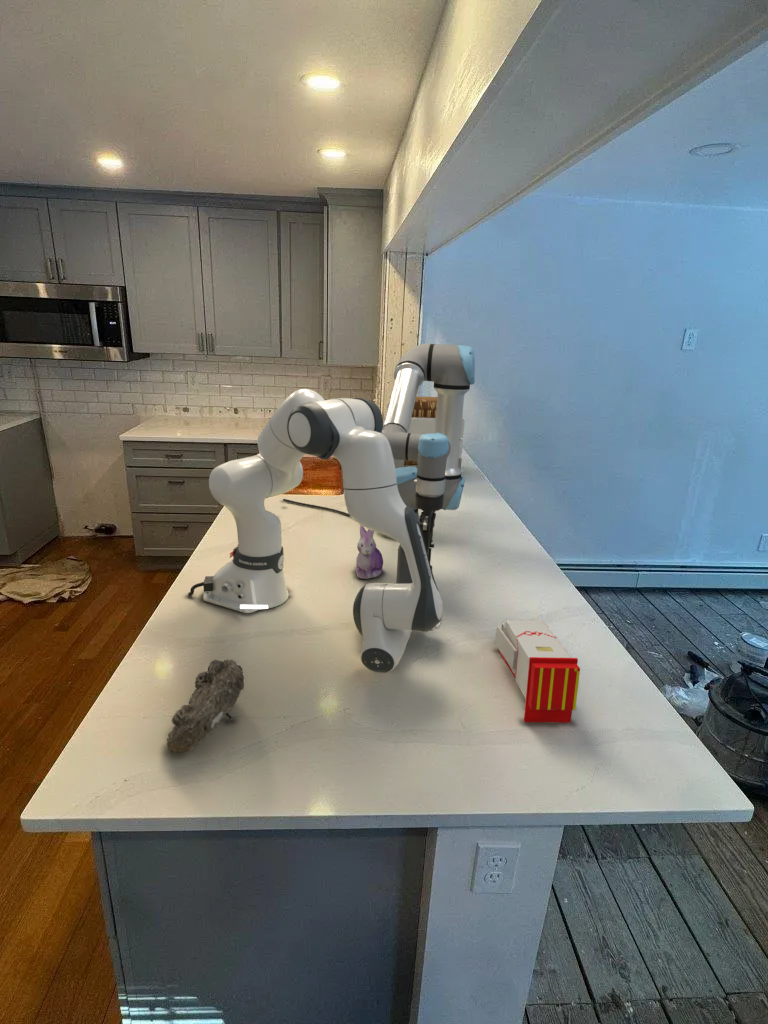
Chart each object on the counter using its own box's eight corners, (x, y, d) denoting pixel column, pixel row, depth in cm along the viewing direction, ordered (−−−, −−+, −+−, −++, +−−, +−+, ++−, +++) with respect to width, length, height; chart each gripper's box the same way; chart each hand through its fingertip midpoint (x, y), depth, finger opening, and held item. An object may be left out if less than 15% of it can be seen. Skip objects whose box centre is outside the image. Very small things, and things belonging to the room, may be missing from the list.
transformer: (382, 463, 289) (386, 382, 275) (445, 464, 293) (451, 384, 279) (390, 482, 257) (394, 392, 243) (460, 483, 261) (468, 394, 247)
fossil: (192, 660, 117) (244, 628, 112) (224, 691, 120) (276, 661, 115) (142, 746, 98) (202, 712, 93) (182, 779, 101) (242, 748, 96)
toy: (541, 605, 135) (589, 664, 106) (536, 657, 138) (581, 729, 108) (490, 604, 135) (524, 663, 105) (486, 656, 137) (518, 728, 108)
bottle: (418, 624, 143) (424, 532, 135) (398, 627, 141) (404, 534, 133) (409, 613, 148) (415, 524, 139) (390, 616, 146) (395, 526, 138)
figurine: (361, 582, 163) (363, 534, 158) (347, 568, 171) (348, 522, 166) (390, 577, 167) (393, 529, 162) (375, 563, 176) (377, 518, 170)
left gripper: (440, 618, 127) (448, 591, 140) (352, 604, 132) (368, 579, 144) (437, 642, 130) (446, 613, 142) (352, 628, 134) (367, 600, 147)
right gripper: (420, 482, 158) (414, 559, 166) (410, 501, 142) (405, 585, 150) (446, 485, 157) (440, 562, 165) (440, 504, 141) (433, 589, 149)
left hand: (406, 596), depth 143 cm, fingers closed on bottle, 5 cm apart
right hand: (423, 573), depth 157 cm, fingers closed on cap, 4 cm apart
